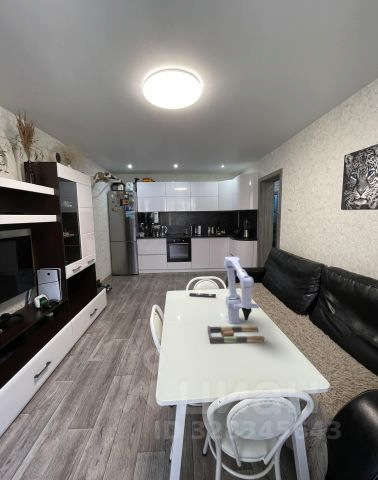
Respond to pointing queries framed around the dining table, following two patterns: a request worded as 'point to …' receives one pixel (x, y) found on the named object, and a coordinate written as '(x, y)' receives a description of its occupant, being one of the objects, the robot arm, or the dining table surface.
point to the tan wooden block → (227, 332)
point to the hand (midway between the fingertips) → (245, 319)
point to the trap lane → (236, 338)
